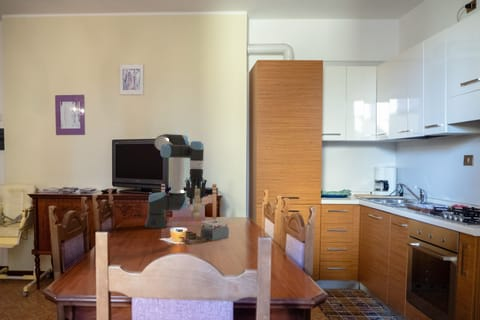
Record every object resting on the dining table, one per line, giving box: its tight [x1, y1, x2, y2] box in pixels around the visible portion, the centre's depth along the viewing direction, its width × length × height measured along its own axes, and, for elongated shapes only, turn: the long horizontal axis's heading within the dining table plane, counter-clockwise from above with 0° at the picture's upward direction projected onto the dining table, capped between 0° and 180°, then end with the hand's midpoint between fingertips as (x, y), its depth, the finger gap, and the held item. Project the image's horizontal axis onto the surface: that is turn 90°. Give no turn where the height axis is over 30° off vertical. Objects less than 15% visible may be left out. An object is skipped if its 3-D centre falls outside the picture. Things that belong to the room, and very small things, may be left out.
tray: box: [182, 235, 207, 245], centre depth 177 cm, size 10×10×2 cm
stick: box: [190, 187, 201, 219], centre depth 177 cm, size 3×3×16 cm
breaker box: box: [199, 218, 230, 242], centre depth 188 cm, size 12×12×10 cm
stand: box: [185, 230, 197, 237], centre depth 187 cm, size 8×8×3 cm
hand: (195, 209), depth 177 cm, fingers closed on stick, 3 cm apart
